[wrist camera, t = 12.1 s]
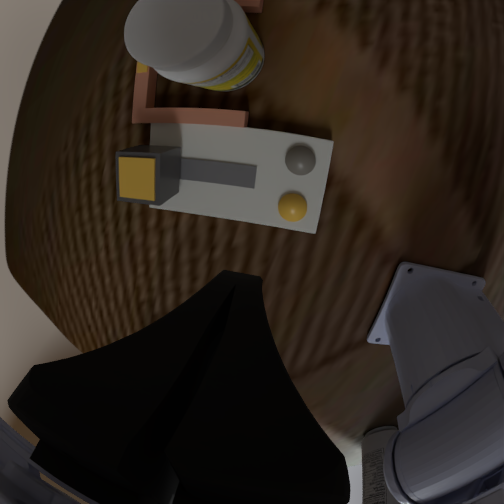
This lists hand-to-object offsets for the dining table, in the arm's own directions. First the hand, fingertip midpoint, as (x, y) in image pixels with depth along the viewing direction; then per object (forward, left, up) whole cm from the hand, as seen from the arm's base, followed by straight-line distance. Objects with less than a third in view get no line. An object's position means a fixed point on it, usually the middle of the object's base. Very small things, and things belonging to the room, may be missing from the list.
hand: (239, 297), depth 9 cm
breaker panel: (+2, -2, -10) cm, 10 cm away
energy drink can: (-21, +29, -10) cm, 37 cm away
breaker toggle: (+7, -2, -9) cm, 12 cm away
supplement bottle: (+4, -10, -10) cm, 14 cm away
